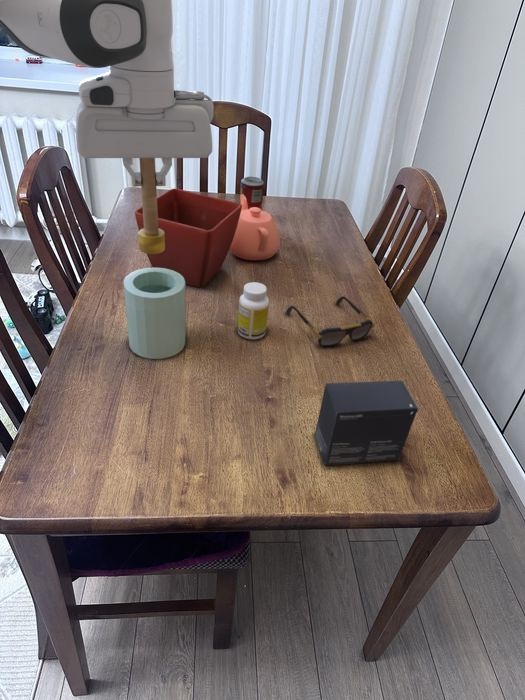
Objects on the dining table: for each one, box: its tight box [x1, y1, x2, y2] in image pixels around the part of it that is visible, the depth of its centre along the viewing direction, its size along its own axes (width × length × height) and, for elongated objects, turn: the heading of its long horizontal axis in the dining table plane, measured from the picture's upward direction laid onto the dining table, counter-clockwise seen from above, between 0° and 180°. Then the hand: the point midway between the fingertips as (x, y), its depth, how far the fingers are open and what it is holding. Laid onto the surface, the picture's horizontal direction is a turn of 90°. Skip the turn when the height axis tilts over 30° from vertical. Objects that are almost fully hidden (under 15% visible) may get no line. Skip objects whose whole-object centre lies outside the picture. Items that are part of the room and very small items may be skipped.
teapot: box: [229, 194, 281, 261], centre depth 132 cm, size 22×15×12 cm
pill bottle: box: [237, 281, 270, 340], centre depth 101 cm, size 6×6×11 cm
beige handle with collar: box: [137, 158, 165, 255], centre depth 80 cm, size 4×4×16 cm
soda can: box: [239, 176, 265, 211], centre depth 150 cm, size 7×7×12 cm
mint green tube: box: [122, 267, 187, 360], centre depth 95 cm, size 11×11×14 cm
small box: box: [314, 380, 419, 467], centre depth 78 cm, size 13×7×12 cm, turn 99°
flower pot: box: [134, 187, 242, 288], centre depth 118 cm, size 19×19×17 cm
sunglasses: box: [285, 296, 375, 348], centre depth 108 cm, size 14×15×5 cm
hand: (148, 185), depth 78 cm, fingers closed on beige handle with collar, 2 cm apart
